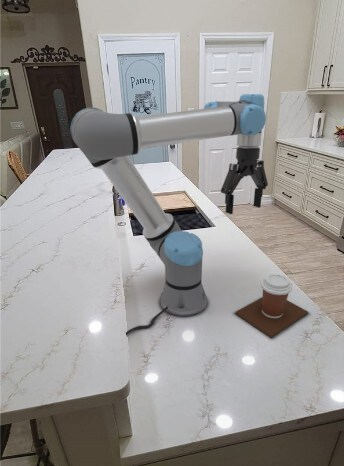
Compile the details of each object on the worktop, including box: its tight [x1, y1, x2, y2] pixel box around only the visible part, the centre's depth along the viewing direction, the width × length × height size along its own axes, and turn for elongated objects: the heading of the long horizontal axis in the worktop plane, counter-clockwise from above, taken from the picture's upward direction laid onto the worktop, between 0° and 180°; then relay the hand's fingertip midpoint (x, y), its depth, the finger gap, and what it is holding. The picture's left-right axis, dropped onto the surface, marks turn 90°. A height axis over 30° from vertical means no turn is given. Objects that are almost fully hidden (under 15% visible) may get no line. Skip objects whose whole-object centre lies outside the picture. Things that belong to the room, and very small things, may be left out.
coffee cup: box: [260, 273, 293, 318], centre depth 100 cm, size 9×9×12 cm
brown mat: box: [234, 296, 309, 339], centre depth 103 cm, size 18×14×1 cm
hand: (243, 209), depth 116 cm, fingers open, 13 cm apart
